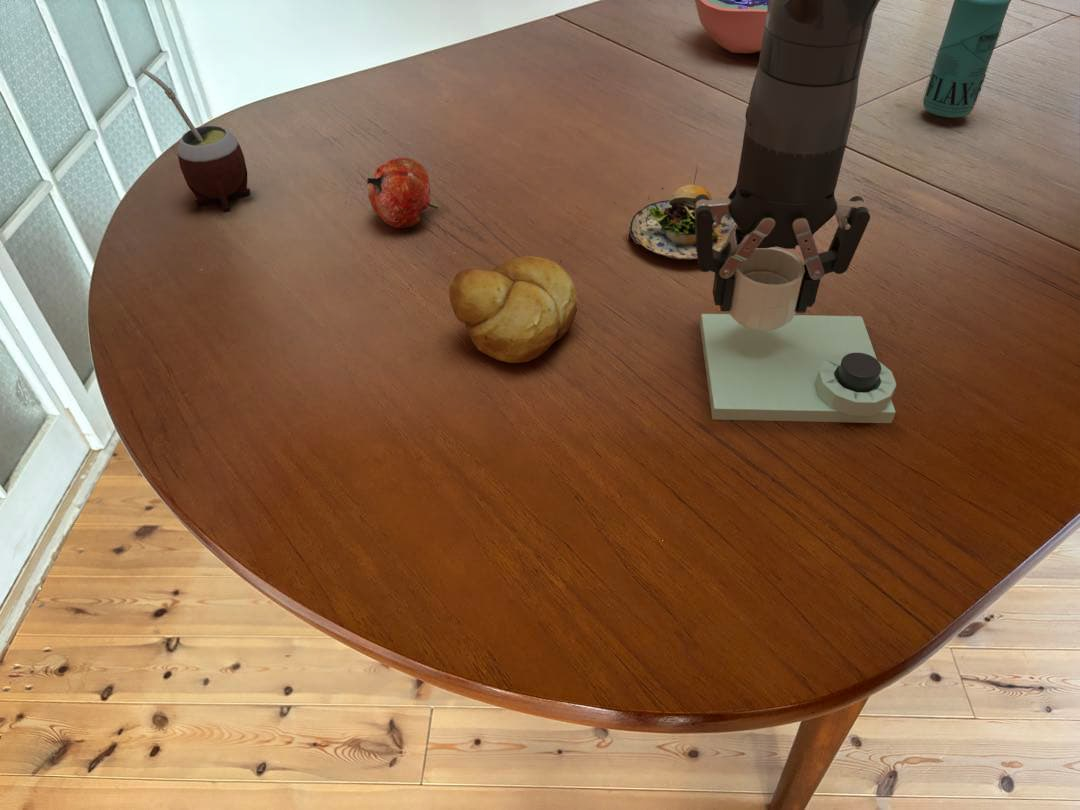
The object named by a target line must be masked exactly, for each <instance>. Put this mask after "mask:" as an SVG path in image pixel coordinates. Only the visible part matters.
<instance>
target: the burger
mask: <svg viewBox="0 0 1080 810" xmlns="http://www.w3.org/2000/svg"><path fill="white" fill-rule="evenodd" d="M697 173H698V166H696V171H695V174H694V180H693V184H687V185H683V186H680V187H679V188H677V189H676V190H675V191H673V193H672V194H671V195H670V197H669V199H668V200H661V201H657V202H653V203H650V204H647V205H645V206H644V207H643V208H641V209H640V210H638V211H637V212H636V213H635V214H633V216H632V218H631V220H630V223H629V232H628V235H627V239H628V240H630V239H632V240H633V242H634V243H635V244H637V245H640V246H642V247H643V248H645V249H646V250H647V251H649V252H652V253H654V254H656V255H658V256H659V255H661V256H664V257H666V258H669V259H675V260H689V261H690V260H698V259H697V252H696V232H695V210H694V200H695V198H696V197H697V196H698V195H701V194H704V195H706V196H708V198H709V200H713V199H712V196H711V193H710V192H709V191H708V190H707V188H705V187H703V186H701V185H698V184H695V182H696V178H697ZM735 225H736V223H735V221H734V220H733V218H732V217H731V215H730V214H726V215H724V216H723V217H722V219H721V223H720V225H719V226H718V227H717V228H715V229H714V228H712V241H713V250H716V251H720V250H721V248H722V247H723V246H724V244H725V243H726V242H727V240H728V238H729V234H730V232H731V230H732V229H733V228H734V226H735Z"/></svg>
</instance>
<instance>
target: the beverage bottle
mask: <svg viewBox="0 0 1080 810" xmlns="http://www.w3.org/2000/svg"><path fill="white" fill-rule="evenodd" d="M1011 2H1012V0H953V4H952V6H951V9H950V13H949V16H948V18H947V19H948V20H947V23H946V26H945V30H944V33H943V36H942V39H941V43H940V46H939V48H938V50H936V56H935V60H933V63H932V69H931V72H930V73H929V76H928V79H927V84H926V85H925V89H924V93H923V94H924V95H923V99H922V102H923V108H924V109H925V110H926V111H927V112H929V113H931V114H934V115H936V116H940V117H945V118H962V117H966V116H968V115H970V114H971V113H972V111H973V109H975V108H976V107H975V106H976V105H977V101H978V99H979V97H980V94H981V90H982V87H983V84H984V81H985V79H986V76H987V73H988V70H989V67H990V66H989V64H990V61H991V58H992V56H993V54H994V53H995V52H994V51H995V50H996V47H997V45H998V41H999V38H1000V36H1001V34H1002V33H1001V32H1002V30H1003V29H1004V27H1003V23H1004V20H1005V18H1006V15H1007V12H1008V9H1009V6H1010V3H1011Z"/></svg>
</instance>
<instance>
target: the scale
mask: <svg viewBox="0 0 1080 810" xmlns="http://www.w3.org/2000/svg"><path fill="white" fill-rule="evenodd" d="M699 321H700V322H699V328H700V336H701V343H702V351H703V358H704V359H703V360H704V366H705V367H704V368H705V373H706V375H705V376H706V381H707V382H706V383H707V389H708V397H709V404H710V413H711V419H712V420H718V421H719V420H722V421H723V420H724V421H767V422H770V421H771V422H772V421H773V422H810V423H811V422H814V423H817V422H818V423H819V422H820V423H859V424H860V423H863V424H892V423H893V420H894V418H895V415H896V409H895V406H894V403H893V400H892V399H893V396H894V394H895V390H896V388H897V381H896V379H895V376H894V374H893V371H892V370H890V369H889V368H888V367H887V366H885V365H884V364H883V363H882V362H881V361H879V363H880V365H881V372H880V375H879V378H878V381H877V384H876V386H875V388H874V389H873V390H871V391H869V392H865V393H864V392H854V391H851V390H848V389H846V388H844V387H843V386H841V385H840V383H839V382H838V379H837V374H838V371H839V368H840V364H841V361H842V359H843V357H844V356H846V355H847V354H850V353H864V354H868V355H870V356H872V357H874V358H875V359H877V360H878V358H877V356H876V353H875V350H874V347H873V343H872V341H871V339H870V336H869V333H868V330H867V327H866V323H865V321H864V319H863V316H861V315H806V314H805V315H802V314H795V315H794V317H793V319H792V321H790V322H789V323H788V324H786V325H785V326H782V327H780V328H778V329H775V330H770V331H759V330H753V329H749V328H747V327H744V326H742V325H741V324H739V323H738V322H737V321H735V319H733V317H732V316H731V315H730V314H729V313H700V320H699Z"/></svg>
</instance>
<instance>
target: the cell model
mask: <svg viewBox="0 0 1080 810" xmlns="http://www.w3.org/2000/svg"><path fill="white" fill-rule="evenodd" d="M769 2H770V0H694V3H695V8H696V12H697V16H698V19H699V23H700V24H701V26H702V28H703V29H704V31H705V32H706V33H707V35H708V37H709V38H710V39H711V40H712V41H714V42H715V43H717V44H718V46H720V47H721V48H723V49H724V50H726V51H728V52H729V53H733V54H756V53H760V51H761V45H762V39H763V32H764V26H765V20H766V15H767V10H768V6H769Z"/></svg>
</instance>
